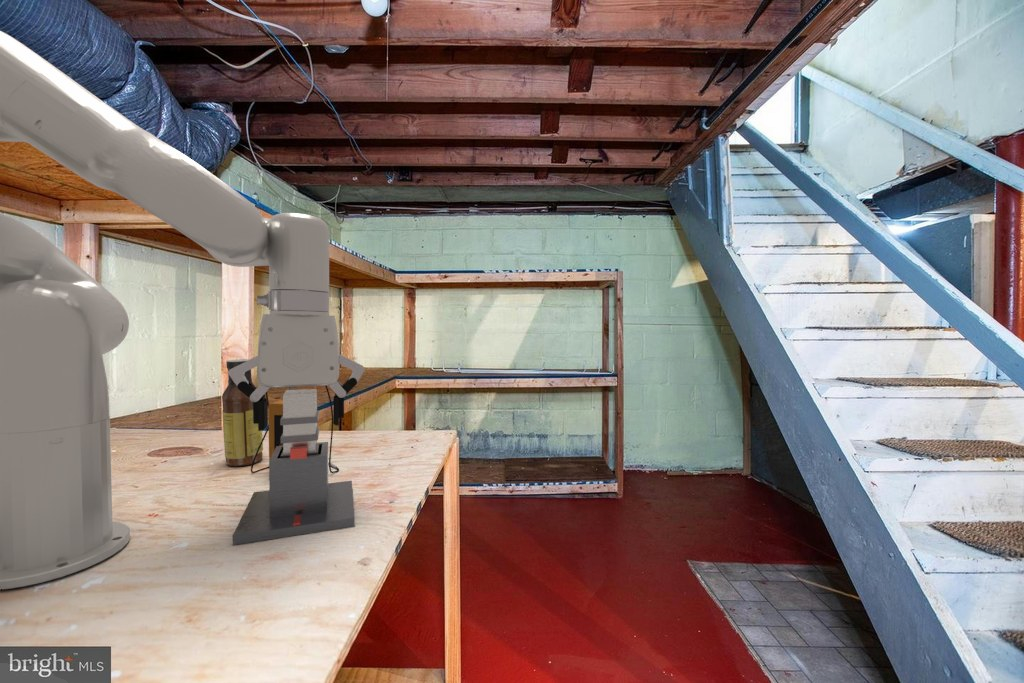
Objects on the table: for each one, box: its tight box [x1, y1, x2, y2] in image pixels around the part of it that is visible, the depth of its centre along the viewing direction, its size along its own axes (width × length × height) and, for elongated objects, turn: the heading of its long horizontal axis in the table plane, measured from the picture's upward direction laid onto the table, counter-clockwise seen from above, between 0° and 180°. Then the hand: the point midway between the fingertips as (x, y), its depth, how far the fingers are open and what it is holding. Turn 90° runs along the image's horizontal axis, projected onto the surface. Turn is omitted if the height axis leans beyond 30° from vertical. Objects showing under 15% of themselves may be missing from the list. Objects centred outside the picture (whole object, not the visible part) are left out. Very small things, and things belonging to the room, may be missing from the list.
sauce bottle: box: [221, 358, 264, 467], centre depth 80 cm, size 7×6×20 cm
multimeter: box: [250, 385, 340, 474], centre depth 78 cm, size 15×10×20 cm
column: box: [280, 388, 320, 458], centre depth 60 cm, size 5×5×16 cm
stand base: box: [232, 441, 356, 546], centre depth 60 cm, size 14×14×10 cm
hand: (300, 425), depth 60 cm, fingers open, 9 cm apart
